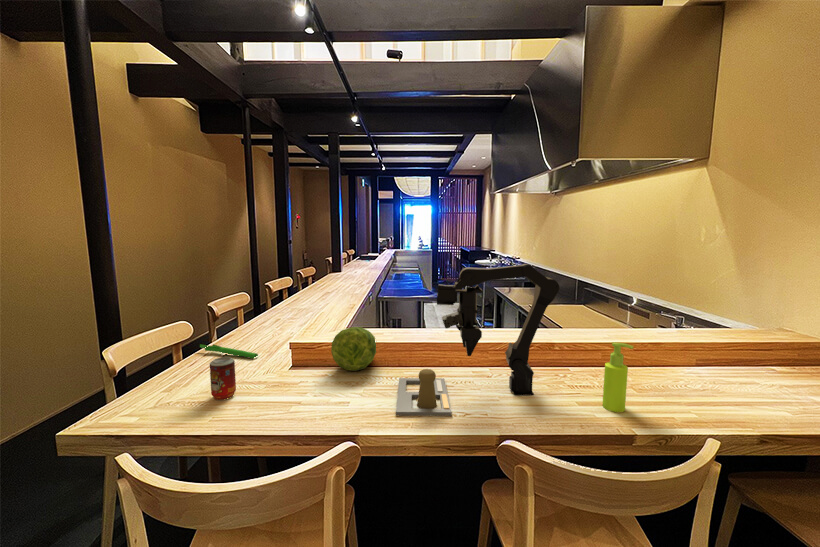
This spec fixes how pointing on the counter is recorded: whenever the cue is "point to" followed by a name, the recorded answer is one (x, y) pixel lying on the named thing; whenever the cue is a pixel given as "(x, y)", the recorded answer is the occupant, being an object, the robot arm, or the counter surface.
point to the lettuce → (353, 348)
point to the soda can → (222, 378)
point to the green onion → (228, 351)
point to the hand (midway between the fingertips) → (466, 351)
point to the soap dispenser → (615, 380)
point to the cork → (427, 390)
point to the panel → (406, 397)
